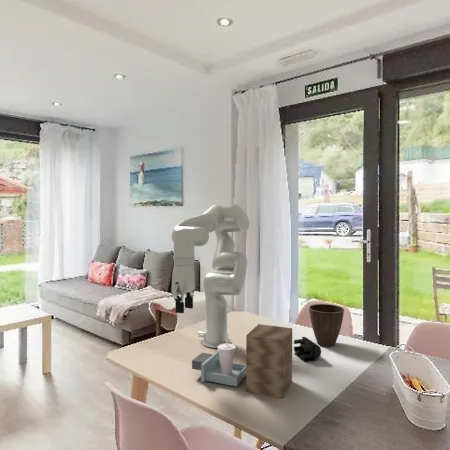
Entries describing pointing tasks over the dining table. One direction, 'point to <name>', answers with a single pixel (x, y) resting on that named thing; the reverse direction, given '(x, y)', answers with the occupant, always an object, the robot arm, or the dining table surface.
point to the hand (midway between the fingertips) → (184, 309)
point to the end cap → (307, 350)
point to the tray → (217, 369)
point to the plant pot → (326, 323)
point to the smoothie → (226, 357)
